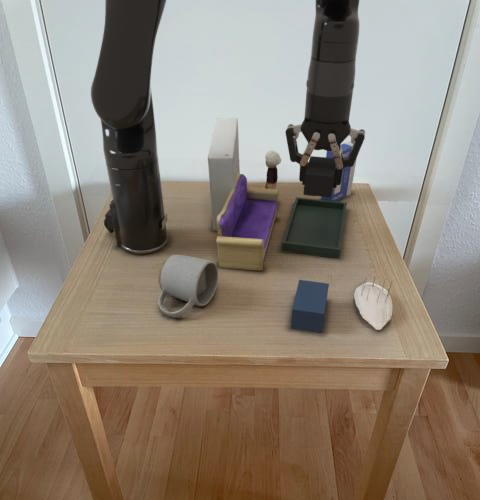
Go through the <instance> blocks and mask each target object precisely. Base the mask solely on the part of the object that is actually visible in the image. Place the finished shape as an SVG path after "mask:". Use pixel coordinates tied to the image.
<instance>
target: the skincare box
mask: <svg viewBox="0 0 480 500" xmlns="http://www.w3.org/2000/svg"><path fill="white" fill-rule="evenodd" d="M239 141H240V140H239V120H238V118H237V117H236V118H234V117H233V118H216V119H215V122H214V127H213V132H212V137H211V142H210V146H209V150H208V155H207V165H208V166H207V167H208V179H209V192H210V204H211V217H212V229H213V231H218V229H217V216H218V214H220V213H221V211H222V210H223V207H224V205H225V203H226V201H227V198H228V196H229V194H230V192H231V190H232V189H235V180H236V176H237V174H241V169H240V168H241V167H240V143H239Z"/></svg>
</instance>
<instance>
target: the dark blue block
mask: <svg viewBox="0 0 480 500" xmlns="http://www.w3.org/2000/svg"><path fill="white" fill-rule="evenodd" d="M329 287H330V283H329V282H328V283H326V282H320V281H312V280H305V279H298V283H297V287H296V291H295V297H294V301H293V304H292V309H291V320H290V329H294V330H301V331H307V332H314V333H322V332H323V325H324V319H325V314H326V313H325V312H326V307H327V301H328V293H329Z"/></svg>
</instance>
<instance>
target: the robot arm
mask: <svg viewBox="0 0 480 500" xmlns="http://www.w3.org/2000/svg"><path fill="white" fill-rule="evenodd" d="M104 3H105V4H104V6H105V7H104V12H105V13H104V27H103V33H102V41H101V46H100V50H99V51H100V52H99V55H98V60H97V64H96V69H95V71H94V77H93V79H92V82H91V86H90V99H91V104H92V107H93V109H94V111H95V114H96V115H97V116H98V118H99V119H100V123H101V132H102V146H103V147H102V148H103V149H102V150H103V155H104V161H105V165H106V170H107V176H108V181H109V186H110V191H111V197H112V199H111V200H110V202H109V205H108V206H109V210H107V211H106V213H105V214H104V217H105V218H104V219H103V226H104V227H105V229H106V230H107V231H108V232H109V234H113V233H114V237H115V241H116V247H117V248H121V249H122V250H123V251H125V252H127V253H129V254H134V255H148V254H153V253H156V252H158V251H161V250H162V249H164V248H165V247H166V246H167V244H168V242H169V237H168V231H167V223H168V221H169V220H168V214H167V213H166V214H165V205H164V197H163V189H162V188H163V187H162V181H161V180H162V179H161V173H160V172H161V171H160V163H159V154H158V142H157V141H158V139H157V129H156V121H155V113H154V101H153V93H152V92H153V91H152V86H151V80H152V78H151V77H152V67H153V57H154V50H155V43H156V39H157V35H158V31H159V27H160V24H161V21H162V17H163V14H164V11H165V8H166V4H167V0H105V1H104ZM359 7H360V0H315V16H314V23H313V30H312V38H311V49H310V50H311V52H310V61H309V66H308V69H307V78H306V85H305V86H306V93H305V94H306V95H305V106H304V118H303V121H302V122H301V124H296V125H294V124H292V123H290V124H288V125H287V127H286V129H285V132H284V133H285V138H286V144H287V150H288V154H289V155H288V156H289V160H290V162H291V163H297V164H298V165H299V174H298V175H299V176H298V180H299V182H300V183H301V185H302V186H304V182H305V173H306V170H307V167H308V164H309V160H310V157H311V156H312V154H313V152H314V151H321V150H322V151H323V150H324V151H326V152H327V151H332V154H333V158H334V160H335V164H336V166H335V174H334V182H333V188H336V187H337V185H340V184H341V179H342V172H343V169H344V168H345V167H352V166H353V165H354V163H355V160H356V161H357V159H358V155H359V153H360V151H361V148H362V146H363V143H364V142H365V141H364V140H365V138H366V130H365V129H355V128H352V126H351V124H350V115H351V107H352V102H353V101H352V100H353V94H354V88H355V81H356V80H355V79H356V63H357V62H356V61H357V54H358V45H359V39H360V38H359V36H360V18H359ZM300 133H301V134H302V135H303V137H304V139H305V140H306V142H307V144H306V146H305V149H304V150H303V153H301V152H299V146H298V142H297V139H298V138H299V136H300ZM348 137H350V141H351V143H352V144H353V146H352V149H351V151H350V154H349V156H348V157H345V158H343V154H342V148H341V144H343V142H344V141H345V140H346V139H347V138H348ZM356 158H357V159H356Z"/></svg>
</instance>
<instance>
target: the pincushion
mask: <svg viewBox="0 0 480 500" xmlns="http://www.w3.org/2000/svg"><path fill="white" fill-rule="evenodd" d="M375 279H376V277H374V280H373V281H375ZM366 280H367V277H366V279H365V280H364V281H363V283H362V284H360V285H359V286H357V287H356V288H355V289H354V294H353V298H354V301H355V306H356V308H357V309H358V310H359V315H360V316H361V317H362V319H364V320H365V321H366V322H368V324H369V325H370V326H372V327H373V328H374V329H375V330H376V331H377V330H378V331H381V330H382V329H383V328H384V327H385V326H386V325H387V323H388V322H390V320H391V319H392V316H393V308H394V305H393V301H392V297H391V295H390V292H391V287H392V282H393V281H391V282H390V286H389V288H388V290H387V289H386V288H385V286H384V285H385V282H386V280H384V283H383V285H382V286H381V285H379V284H375V282H369V281H368V282H367V281H366Z"/></svg>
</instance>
